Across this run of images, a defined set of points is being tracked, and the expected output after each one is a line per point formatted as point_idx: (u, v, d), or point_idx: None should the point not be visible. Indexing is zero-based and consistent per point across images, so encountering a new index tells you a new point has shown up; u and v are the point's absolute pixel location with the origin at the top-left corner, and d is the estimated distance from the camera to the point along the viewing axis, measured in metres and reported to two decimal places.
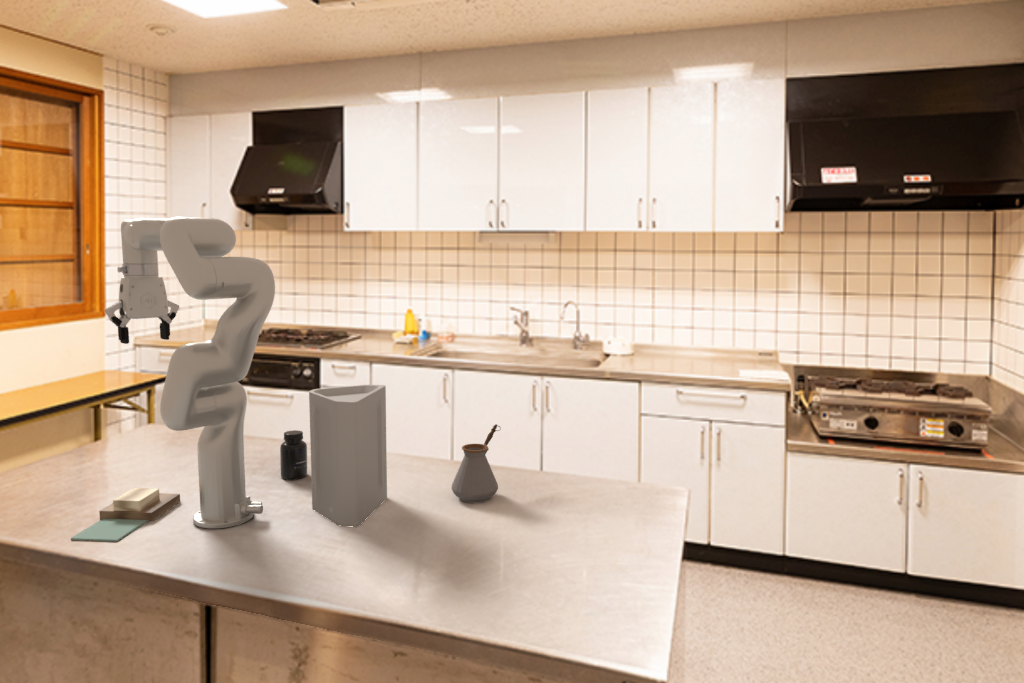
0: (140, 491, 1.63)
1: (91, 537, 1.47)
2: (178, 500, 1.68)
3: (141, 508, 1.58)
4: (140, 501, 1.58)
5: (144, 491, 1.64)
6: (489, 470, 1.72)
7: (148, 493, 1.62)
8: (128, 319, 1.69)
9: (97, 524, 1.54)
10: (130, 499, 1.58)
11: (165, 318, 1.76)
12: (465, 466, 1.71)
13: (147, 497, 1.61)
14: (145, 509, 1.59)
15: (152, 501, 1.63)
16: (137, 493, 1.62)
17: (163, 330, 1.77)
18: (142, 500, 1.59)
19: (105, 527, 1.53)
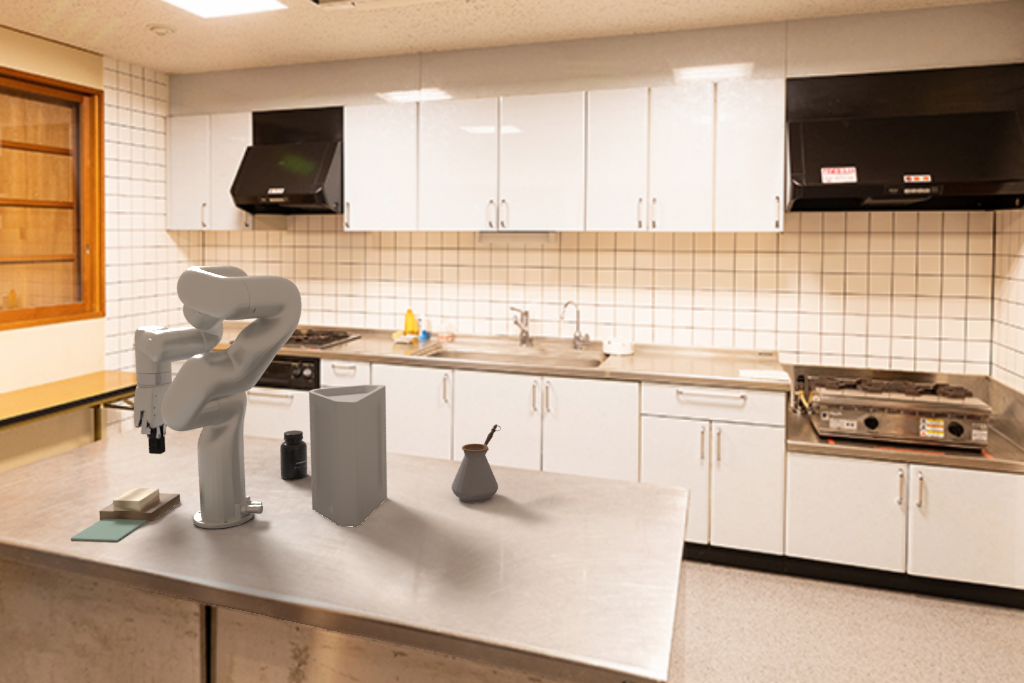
0: (140, 491, 1.63)
1: (91, 537, 1.47)
2: (178, 500, 1.68)
3: (141, 508, 1.58)
4: (140, 501, 1.58)
5: (144, 491, 1.64)
6: (489, 470, 1.72)
7: (148, 493, 1.62)
8: None
9: (97, 524, 1.54)
10: (130, 499, 1.58)
11: None
12: (465, 466, 1.71)
13: (147, 497, 1.61)
14: (145, 509, 1.59)
15: (152, 501, 1.63)
16: (137, 493, 1.62)
17: None
18: (142, 500, 1.59)
19: (105, 527, 1.53)
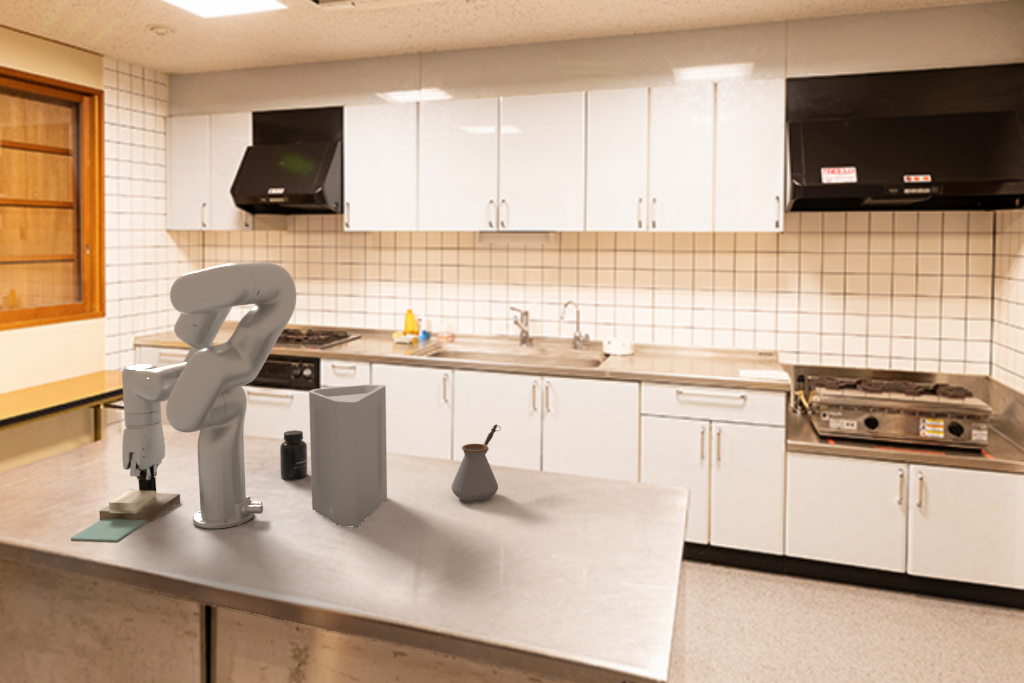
0: (136, 493, 1.62)
1: (91, 537, 1.47)
2: (178, 500, 1.68)
3: (137, 510, 1.57)
4: (136, 503, 1.57)
5: (140, 493, 1.62)
6: (489, 470, 1.72)
7: (144, 495, 1.61)
8: None
9: (97, 524, 1.54)
10: (127, 501, 1.57)
11: None
12: (465, 466, 1.71)
13: (143, 499, 1.59)
14: (145, 509, 1.59)
15: (148, 503, 1.61)
16: (133, 495, 1.61)
17: None
18: (138, 502, 1.57)
19: (105, 527, 1.53)
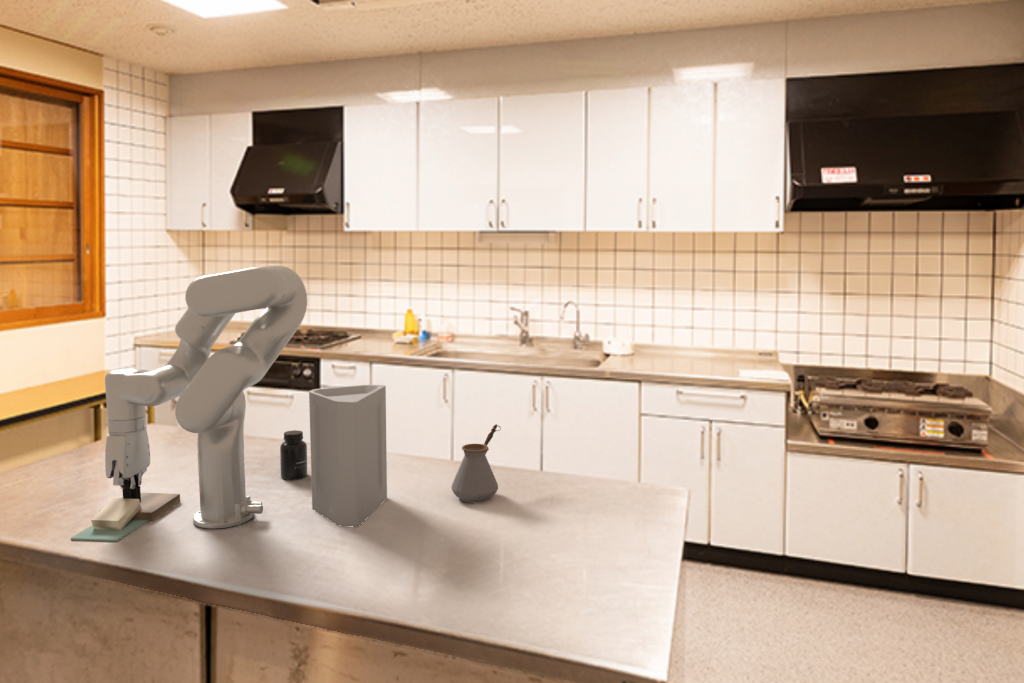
0: (119, 504, 1.56)
1: (91, 537, 1.47)
2: (178, 500, 1.68)
3: (122, 526, 1.52)
4: (120, 520, 1.51)
5: (123, 503, 1.56)
6: (489, 470, 1.72)
7: (128, 507, 1.55)
8: None
9: None
10: (109, 518, 1.51)
11: None
12: (465, 466, 1.71)
13: (127, 513, 1.53)
14: (145, 509, 1.59)
15: (133, 514, 1.56)
16: (116, 507, 1.55)
17: None
18: (122, 518, 1.52)
19: None
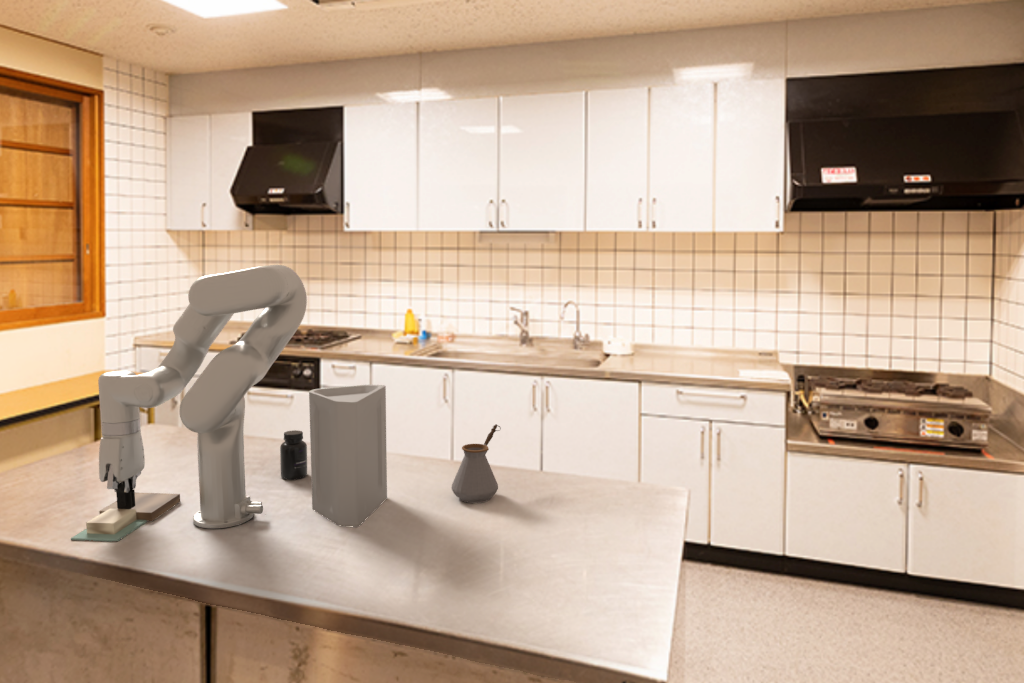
0: (116, 512, 1.55)
1: (91, 537, 1.47)
2: (178, 500, 1.68)
3: (116, 531, 1.50)
4: (115, 523, 1.49)
5: (119, 511, 1.55)
6: (489, 470, 1.72)
7: (124, 514, 1.54)
8: None
9: None
10: (105, 521, 1.50)
11: None
12: (465, 466, 1.71)
13: (123, 519, 1.52)
14: (145, 509, 1.59)
15: (128, 523, 1.54)
16: (112, 514, 1.54)
17: None
18: (117, 522, 1.50)
19: None
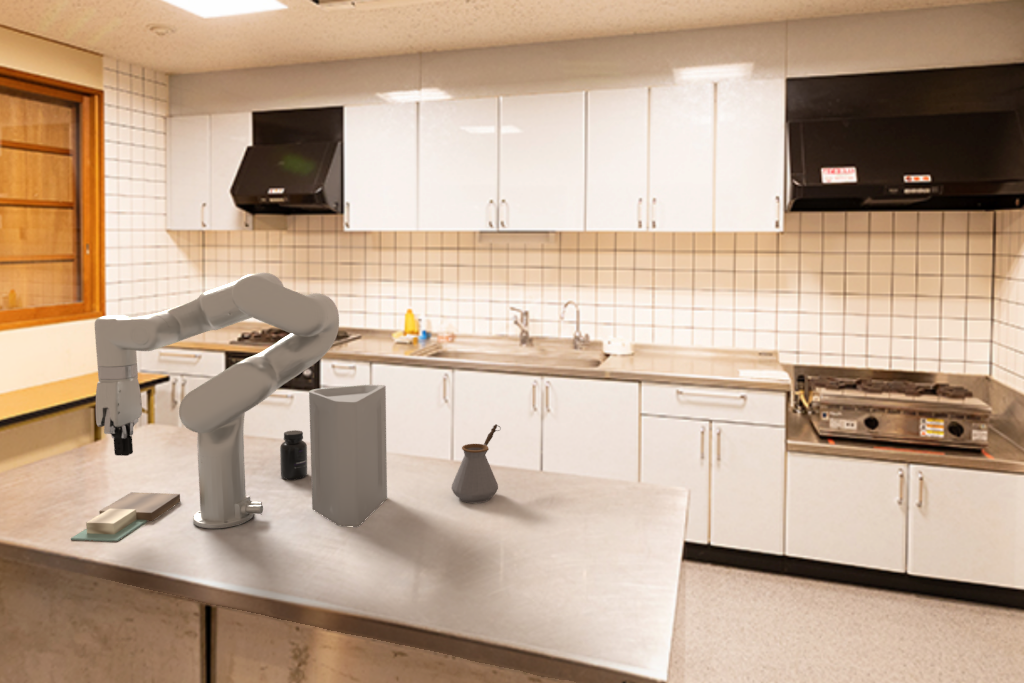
0: (116, 512, 1.55)
1: (91, 537, 1.47)
2: (178, 500, 1.68)
3: (116, 531, 1.50)
4: (115, 523, 1.49)
5: (119, 511, 1.55)
6: (489, 470, 1.72)
7: (124, 514, 1.54)
8: None
9: None
10: (105, 521, 1.50)
11: None
12: (465, 466, 1.71)
13: (123, 519, 1.52)
14: (145, 509, 1.59)
15: (128, 523, 1.54)
16: (112, 514, 1.54)
17: None
18: (117, 522, 1.50)
19: None
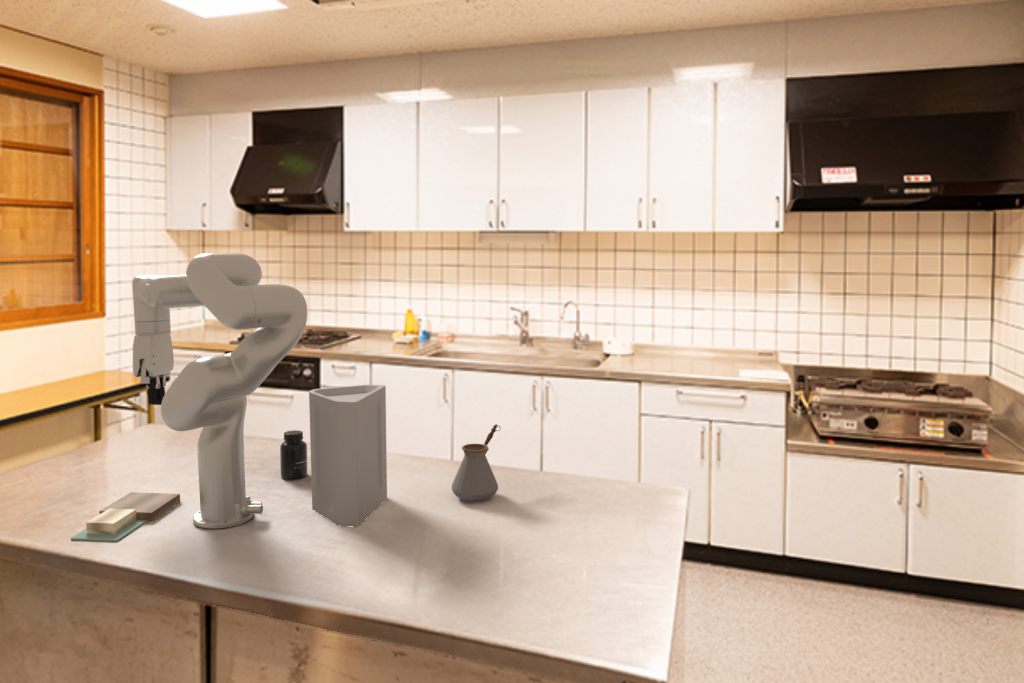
0: (116, 512, 1.55)
1: (91, 537, 1.47)
2: (178, 500, 1.68)
3: (116, 531, 1.50)
4: (115, 523, 1.49)
5: (119, 511, 1.55)
6: (489, 470, 1.72)
7: (124, 514, 1.54)
8: None
9: None
10: (105, 521, 1.50)
11: None
12: (465, 466, 1.71)
13: (123, 519, 1.52)
14: (145, 509, 1.59)
15: (128, 523, 1.54)
16: (112, 514, 1.54)
17: None
18: (117, 522, 1.50)
19: None
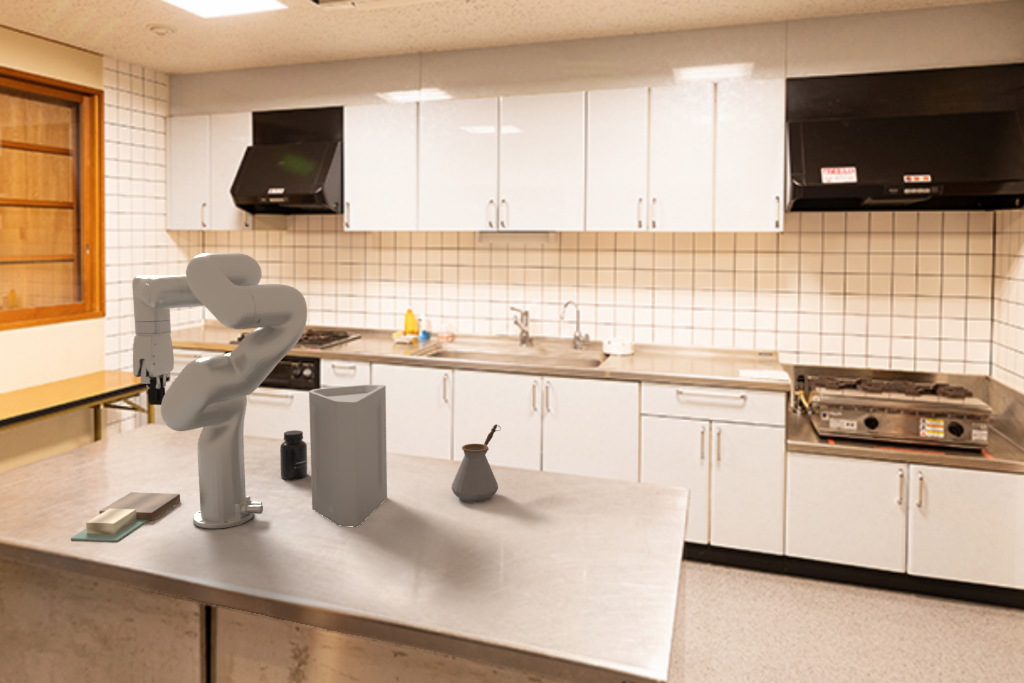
0: (116, 512, 1.55)
1: (91, 537, 1.47)
2: (178, 500, 1.68)
3: (116, 531, 1.50)
4: (115, 523, 1.49)
5: (119, 511, 1.55)
6: (489, 470, 1.72)
7: (124, 514, 1.54)
8: None
9: None
10: (105, 521, 1.50)
11: None
12: (465, 466, 1.71)
13: (123, 519, 1.52)
14: (145, 509, 1.59)
15: (128, 523, 1.54)
16: (112, 514, 1.54)
17: None
18: (117, 522, 1.50)
19: None
